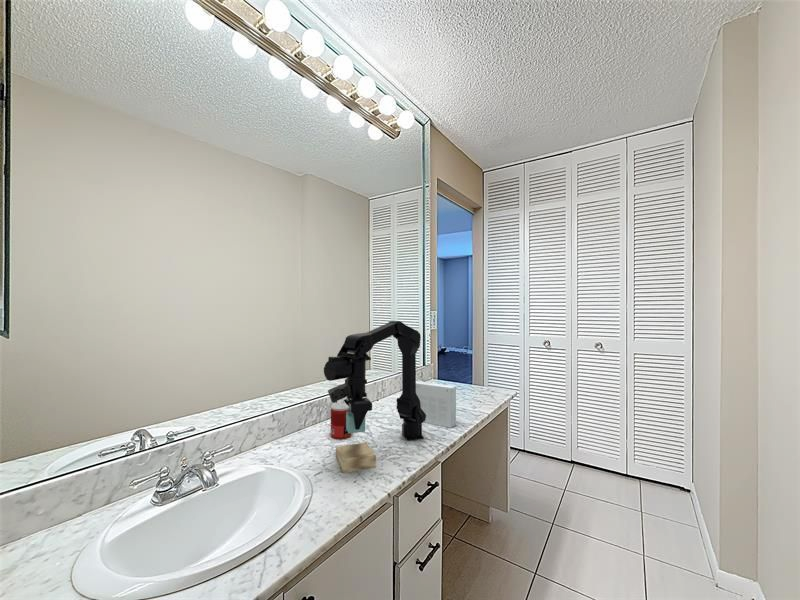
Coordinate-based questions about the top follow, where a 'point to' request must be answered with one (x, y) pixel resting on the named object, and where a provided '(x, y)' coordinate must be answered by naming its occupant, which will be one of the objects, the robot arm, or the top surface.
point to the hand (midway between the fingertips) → (355, 426)
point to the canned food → (339, 421)
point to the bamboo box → (355, 457)
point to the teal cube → (351, 426)
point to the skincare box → (437, 403)
